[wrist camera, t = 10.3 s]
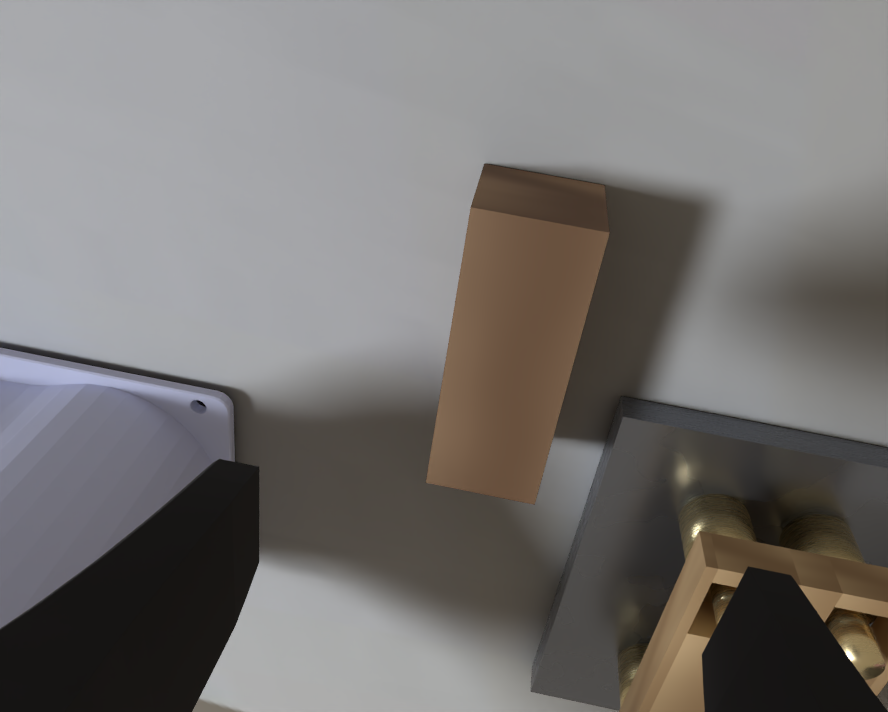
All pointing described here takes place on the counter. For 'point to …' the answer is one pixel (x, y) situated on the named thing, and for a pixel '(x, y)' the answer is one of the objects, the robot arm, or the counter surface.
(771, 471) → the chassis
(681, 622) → the wooden frame
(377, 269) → the counter surface
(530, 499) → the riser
